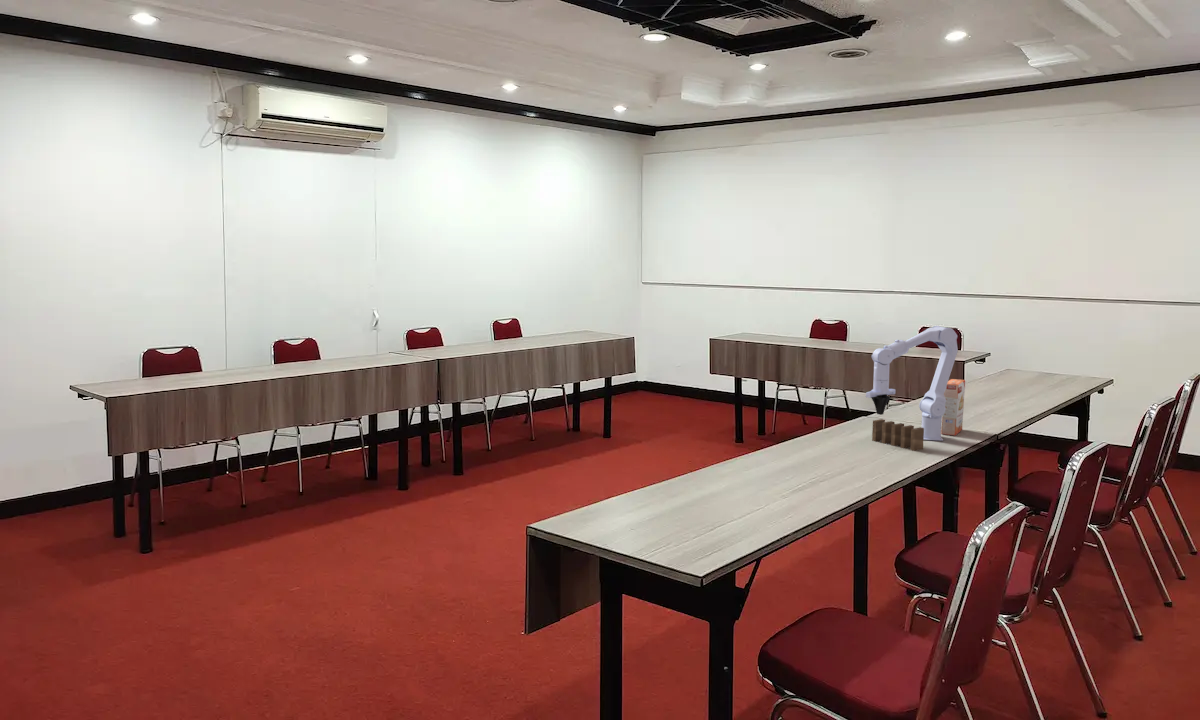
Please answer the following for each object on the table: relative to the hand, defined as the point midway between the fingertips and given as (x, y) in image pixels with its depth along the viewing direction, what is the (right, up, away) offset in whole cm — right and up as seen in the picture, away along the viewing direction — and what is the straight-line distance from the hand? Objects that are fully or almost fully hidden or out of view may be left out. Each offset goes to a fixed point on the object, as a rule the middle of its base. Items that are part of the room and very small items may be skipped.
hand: (880, 414), depth 329 cm
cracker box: (+34, -8, +15) cm, 38 cm away
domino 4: (+7, -12, -10) cm, 17 cm away
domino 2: (+2, -11, -2) cm, 11 cm away
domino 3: (+4, -11, -6) cm, 14 cm away
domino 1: (0, -10, +2) cm, 10 cm away
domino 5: (+9, -12, -14) cm, 21 cm away
